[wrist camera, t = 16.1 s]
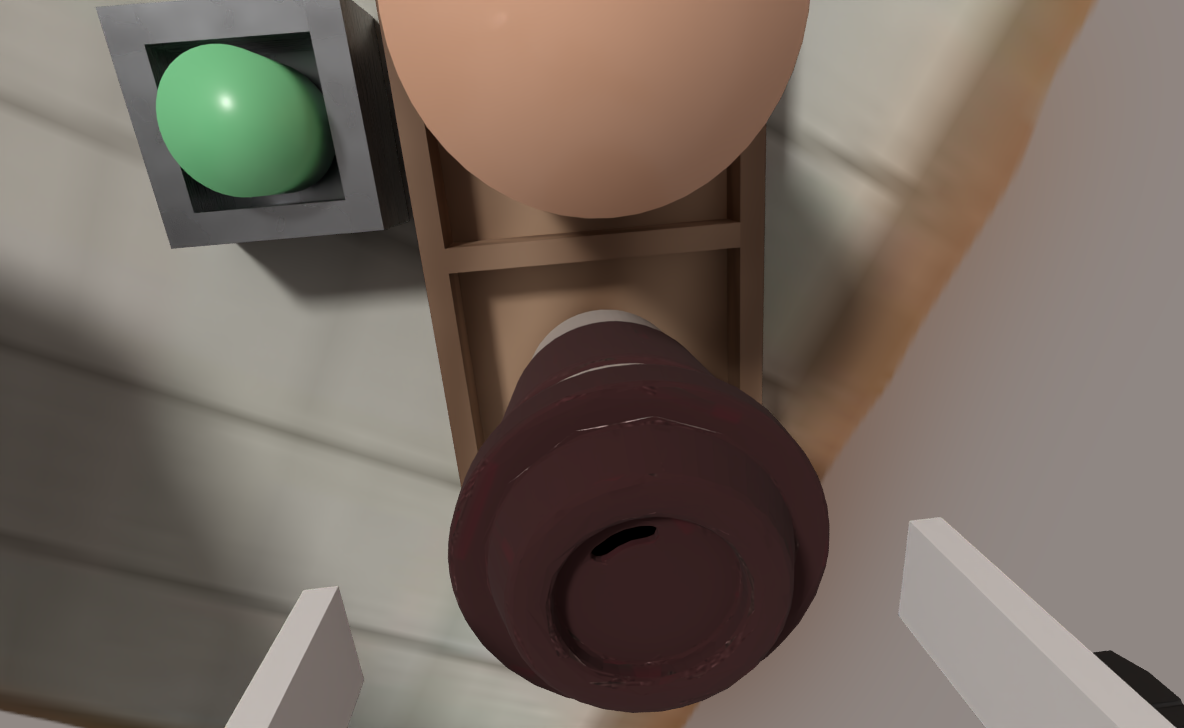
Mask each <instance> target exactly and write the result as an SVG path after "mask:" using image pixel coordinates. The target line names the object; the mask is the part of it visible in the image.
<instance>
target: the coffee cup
mask: <svg viewBox="0 0 1184 728" xmlns="http://www.w3.org/2000/svg"><path fill="white" fill-rule="evenodd" d="M828 549H829V518H828V509H827V504H826V500H825V496H824V493H823V489H822V486H821V483H820V481H819V478H818V476H817V474H816V472H815V470H814V468H813V466H812V464H811V462H810V461H809V459H808V457H807V456H806V454H805V453H804V451H803V450H802V449H801V447H800V446H799V445H798V444H797V443H796V441H795V440H794V439H793V438H792V437H791V435H790V434H789V433H788V432H787V431H786V429H785V428H784V427H783V426H782V425H781V424H780V423H779V422H778V420H777V419H776V418H775V417H774V416H773V415H772V414H771V413H770V412H769V411H768V410H767V409H766V408H765V407H764V406H762V405H761V404H760V403H759V402H757V401H756V400H755V399H754V398H752V397H751V396H749V395H748V394H746V393H745V392H743V391H742V390H740V389H739V388H737V387H735V386H733V385H731V384H729V383H726V382H724V381H722V380H720V379H718V378H716V377H714V376H713V375H712V374H711V373H710V372H709V371H708V370H707V369H706V368H705V367H704V366H703V365H702V364H701V363H700V362H699V361H698V360H697V359H696V358H695V357H694V356H693V355H692V354H691V353H690V352H689V351H688V350H687V349H686V348H685V347H684V346H682V345H681V344H680V343H679V342H677V341H676V340H675V339H673V338H672V337H670V336H668V335H666V334H665V333H663V332H662V331H661V330H660V329H659V328H657V327H656V326H655V325H654V324H652V323H651V322H649V321H647V320H646V319H644V318H642V317H640V316H637V315H635V314H632V313H628V312H625V311H619V310H594V311H589V312H585V313H582V314H578V315H576V316H574V317H571V318H569V319H567V320H566V321H564V322H562V323H561V324H559V325H558V326H557V327H555V328H554V329H553V330H552V331H551V332H550V333H549V334H548V335H547V336H546V337H545V338H544V339H543V341H542V342H541V343H540V344H539V346H538V348H537V349H536V351H535V353H534V355H533V357H532V360H531V361H530V363H529V364H528V365H527V367H526V368H525V369H524V371H523V373H522V375H521V376H520V378H519V380H518V382H517V385H516V387H515V390H514V392H513V395H512V397H511V400H510V402H509V405H508V407H507V409H506V412H505V414H504V417H503V419H502V422H501V423H500V424H499V425H498V426H497V427H496V429H495V430H494V431H493V432H492V433H491V434H490V436H489V437H488V438H487V439H486V441H485V442H484V443H483V445H482V446H481V447H480V449H479V451H478V452H477V454H476V456H475V458H474V460H473V461H472V463H471V465H470V467H469V470H468V472H467V474H466V476H465V479H464V482H463V485H462V488H461V491H460V494H459V497H458V500H457V504H456V507H455V511H454V515H453V519H452V523H451V527H450V534H449V542H448V563H449V573H450V578H451V583H452V587H453V591H454V594H455V597H456V600H457V602H458V605H459V608H460V610H461V612H462V614H463V616H464V618H465V620H466V622H467V623H468V625H469V626H470V628H471V629H472V631H473V632H474V633H475V635H476V636H477V637H478V639H479V640H480V642H481V643H482V644H483V645H484V646H485V648H486V649H487V650H488V651H490V652H491V653H492V654H493V655H494V656H495V657H496V658H497V659H498V660H499V661H500V662H501V663H503V664H504V665H505V666H506V667H507V668H508V669H510V670H512V671H513V672H515V673H516V674H518V675H520V676H521V677H523V678H524V679H526V680H528V681H529V682H531V683H532V684H534V685H536V686H539V687H541V688H544V689H546V690H549V691H551V692H554V693H556V694H559V695H562V696H564V697H567V698H572V699H575V700H577V701H579V702H582V703H585V704H589V705H592V706H595V707H598V708H602V709H607V710H615V711H623V712H631V713H638V712H659V711H666V710H671V709H676V708H681V707H684V706H687V705H690V704H693V703H696V702H699V701H703V700H705V699H707V698H709V697H711V696H713V695H715V694H717V693H719V692H721V691H723V690H725V689H728V688H729V687H730V686H732V685H733V684H734V683H736V682H737V681H738V680H739V679H741V678H742V677H743V676H744V675H746V674H747V673H748V672H750V671H751V670H752V669H753V668H755V667H756V666H757V665H758V664H759V662H760V661H762V660H763V659H765V658H766V657H767V656H768V655H769V654H770V653H772V652H773V651H774V650H775V649H776V648H777V647H778V646H779V645H780V644H781V643H782V642H783V641H784V640H785V639H786V637H787V636H788V635H789V634H790V633H791V632H792V631H793V629H794V628H795V627H796V626H797V625H798V624H799V622H800V621H801V619H802V617H803V616H804V614H805V612H806V611H807V609H808V607H809V606H810V604H811V602H812V601H813V599H814V597H815V595H816V593H817V590H818V587H819V584H820V581H821V579H822V576H823V573H824V570H825V567H826V562H827V557H828V551H829V550H828Z"/></svg>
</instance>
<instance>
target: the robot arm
mask: <svg viewBox="0 0 1184 728" xmlns="http://www.w3.org/2000/svg"><path fill="white" fill-rule="evenodd" d="M898 616H899V617H900V618H901V620H902V621H903V622H904V623H905V625H906V626H907V627H908V629H909V630H910V631H911V632H912V634H913V635H914V636H915V638H916V639H917V640H918V641H919V643H920V644H921V645H922V647H923V648H924V649H925V651H926V652H927V653H928V654H929V656H930V657H931V658H932V659H933V661H934V662H935V663H936V664H937V666H938V667H939V668H940V670H941V671H942V672H943V674H944V675H945V676H946V678H947V679H948V680H949V681H950V683H951V684H952V685H953V687H954V688H955V689H956V690H957V692H958V693H959V694H960V696H961V697H962V698H963V699H964V701H965V702H966V703H967V705H968V706H969V707H970V708H971V710H972V711H973V712H974V714H975V715H976V716H977V717H978V719H979V720H980V721H981V723H982V724H983V725H984V726H985V728H1184V705H1183V704H1182V702H1181V699H1180V698H1179V697H1178V696H1176V695H1175V694H1174V693H1173V692H1172V691H1170V690H1169V689H1168V688H1167V687H1166V686H1165V685H1163V684H1162V683H1161V682H1160V681H1159V680H1157V679H1156V678H1155V677H1154V676H1153V675H1151V674H1150V673H1149V672H1148V671H1146V670H1144V669H1142V668H1141V667H1139V666H1137V665H1135V664H1134V663H1132V662H1130V661H1128V660H1127V659H1125V658H1123V657H1121V656H1120V655H1118V654H1116V653H1114V652H1113V651H1102V652H1094V653H1092V652H1091V651H1090V650H1088V649H1087V648H1086V647H1085V646H1084V645H1083V644H1082V643H1081V642H1080V641H1079V640H1078V639H1076V638H1075V637H1074V636H1073V635H1072V634H1071V633H1070V632H1069V631H1067V630H1066V629H1065V628H1064V627H1063V626H1062V625H1061V624H1060V623H1059V622H1057V621H1056V620H1055V619H1054V618H1053V617H1052V616H1051V615H1050V614H1049V613H1047V612H1046V611H1045V610H1044V609H1043V608H1042V607H1041V606H1040V605H1039V604H1037V603H1036V602H1035V601H1034V600H1033V599H1032V598H1031V597H1030V596H1028V595H1027V594H1026V593H1025V592H1024V591H1023V590H1022V589H1020V587H1018V586H1017V585H1016V584H1015V583H1014V582H1013V581H1012V580H1010V579H1009V578H1008V577H1007V576H1006V575H1005V574H1004V573H1003V572H1002V571H1001V570H1000V569H998V568H997V567H996V566H995V565H994V564H993V563H992V562H991V561H989V560H988V559H987V558H986V557H985V556H984V555H983V554H982V553H981V552H979V551H978V550H977V549H976V548H975V547H974V546H973V545H971V544H970V543H969V542H968V541H967V540H966V539H965V538H964V537H963V536H962V535H960V534H959V533H958V532H957V531H956V530H955V529H954V528H953V527H952V526H950V525H949V524H948V523H947V522H946V521H945V520H944V519H943V518H941V517H938V518H929V519H921V520H913V521H909V528H908V536H907V544H906V554H905V562H904V570H903V578H902V587H901V596H900V604H899V612H898ZM363 682H364V677H363V674H362V670H361V666H360V663H359V659H358V656H357V652H356V648H355V645H354V641H353V637H352V634H351V630H350V627H349V623H348V619H347V616H346V612H345V609H344V605H343V601H342V598H341V594H340V590H339V587H338V586H334V587H325V588H316V589H308V590H303V592H302V593H301V595H300V597H299V599H298V600H297V602H296V604H295V606H294V607H293V609H292V611H291V613H290V614H289V616H288V618H287V620H286V621H285V623H284V625H283V626H282V628H281V630H280V632H279V633H278V635H277V637H276V639H275V640H274V642H273V644H272V646H271V647H270V649H269V651H268V653H267V654H266V656H265V658H264V660H263V661H262V663H261V665H260V667H259V668H258V670H257V672H256V673H255V675H254V677H253V679H252V680H251V682H250V684H249V686H248V687H247V689H246V691H245V693H244V694H243V696H242V698H241V700H240V701H239V703H238V705H237V707H236V708H235V710H234V712H233V714H232V715H231V717H230V719H229V720H228V722H227V724H226V726H225V727H224V728H347V727H348V724H349V721H350V718H351V716H352V713H353V710H354V707H355V704H356V702H357V699H358V696H359V693H360V690H361V688H362V685H363Z"/></svg>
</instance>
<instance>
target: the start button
mask: <svg viewBox="0 0 1184 728" xmlns="http://www.w3.org/2000/svg"><path fill="white" fill-rule="evenodd" d="M156 114H157V121H158V125H159V129H160V132H161V135H162V138H163V140H164V142H165V144H166V146H167V148H168V150H169V151H170V153H171V155H172V156H173V158H174V159H175V160H176V161H177V163H178V164H179V165H180V166H181V167H182V168H183V169H184V170H185V171H186V172H187V173H188V174H189V175H190V176H191V177H192V178H194V179H195V180H196V181H198V182H199V183H201V184H202V185H204V186H206V187H207V188H209V189H211V190H213V191H216V192H219V193H222V194H225V195H229V196H234V197H258V196H268V195H278V194H289V193H295V192H299V191H302V190H305V189H307V188H309V187H311V186H312V185H314V184H315V183H317V182H318V181H319V180H320V179H321V178H322V177H323V176H324V175H325V174H326V172H327V171H328V169H329V167H330V166H331V164H332V161H333V159H334V155H335V149H334V144H333V139H332V134H331V130H330V125H329V120H328V115H327V111H326V106H325V101H324V97H323V95H322V93H321V92H320V90H319V89H318V88H317V87H316V86H315V85H314V83H312V82H311V81H310V80H309V79H308V78H307V77H306V76H304V75H303V74H302V73H300V72H299V71H297V70H295V69H293V68H292V67H290V66H287V65H285V64H282V63H280V62H277V61H274V60H272V59H269V58H266V57H264V56H261V55H258V54H256V53H253V52H250V51H248V50H245V49H242V48H239V47H236V46H232V45H225V44H207V45H201V46H198V47H194V48H192V49H190V50H188V51H186V52H184V53H182V54H181V55H180V56H178V57H177V58H176V59H175V60H174V61H173V62H172V63H171V64H170V65H169V66H168V68H167V69H166V71H165V72H164V74H163V76H162V78H161V81H160V84H159V87H158V91H157V97H156Z"/></svg>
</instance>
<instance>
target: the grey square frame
mask: <svg viewBox="0 0 1184 728" xmlns="http://www.w3.org/2000/svg"><path fill="white" fill-rule="evenodd" d="M96 10H97V13H98V16H99V19H100V23H101V26H102V29H103V32H104V35H105V39H106V42H107V45H108V48H109V51H110V54H111V58H112V61H113V64H114V67H115V70H116V74H117V77H118V80H119V83H120V86H121V89H122V93H123V96H124V99H125V102H126V105H127V109H128V112H129V115H130V118H131V121H132V124H133V128H134V131H135V134H136V137H137V140H138V144H139V147H140V150H141V153H142V156H143V160H144V163H145V166H146V169H147V172H148V175H149V179H150V182H151V185H152V188H153V191H154V195H155V198H156V201H157V204H158V207H159V210H160V214H161V217H162V220H163V223H164V226H165V230H166V233H167V236H168V239H169V242H170V245H171V249H173V248H184V247H196V246H207V245H218V244H230V243H241V242H252V241H264V240H275V239H287V238H298V237H309V236H321V235H332V234H343V233H355V232H366V231H377V230H385V229H388V228H391V227H394V226H396V225H399V224H402V223H405V222H407V221H409V215H408V210H407V204H406V199H405V193H404V187H403V182H402V176H401V171H400V165H399V160H398V154H397V148H396V143H395V137H394V132H393V126H392V120H391V115H390V109H389V104H388V98H387V93H386V87H385V81H384V76H383V70H382V65H381V59H380V53H379V48H378V42H377V37H376V31H375V26H374V20H373V17H372V16H371V15H370V14H368V13H367V12H366V11H365V10H363V9H362V8H361V7H360V6H358V5H357V4H356V3H355V2H353V1H352V0H179V1H166V2H153V3H141V4H128V5H115V6H102V7H96ZM207 44H225V45H232V46H236V47H239V48H242V49H245V50H248V51H250V52H253V53H256V54H258V55H261V56H264V57H266V58H269V59H272V60H274V61H277V62H280V63H282V64H285V65H287V66H290V67H292V68H293V69H295V70H297V71H299V72H300V73H302V74H303V75H304V76H306V77H307V78H308V79H309V80H310V81H311V82H312V83H314V85H315V86H316V87H317V88H318V89H319V90H320V92H321V93H322V95H323V97H324V101H325V106H326V111H327V115H328V120H329V125H330V130H331V134H332V139H333V144H334V149H335V155H334V159H333V161H332V164H331V166H330V167H329V169H328V171H327V172H326V174H325V175H324V176H323V177H322V178H321V179H320V180H319V181H318V182H317V183H315V184H314V185H312V186H311V187H309V188H307V189H305V190H302V191H299V192H295V193H289V194H278V195H268V196H258V197H234V196H229V195H225V194H222V193H219V192H216V191H213V190H211V189H209V188H207V187H206V186H204V185H202V184H201V183H199V182H198V181H196V180H195V179H194V178H192V177H191V176H190V175H189V174H188V173H187V172H186V171H185V170H184V169H183V168H182V167H181V166H180V165H179V164H178V163H177V161H176V160H175V159H174V158H173V156H172V155H171V153H170V151H169V150H168V148H167V146H166V144H165V142H164V140H163V138H162V135H161V132H160V129H159V125H158V121H157V114H156V97H157V91H158V87H159V84H160V81H161V78H162V76H163V74H164V72H165V71H166V69H167V68H168V66H169V65H170V64H171V63H172V62H173V61H174V60H175V59H176V58H177V57H178V56H180V55H181V54H182V53H184V52H186V51H188V50H190V49H192V48H194V47H198V46H201V45H207Z"/></svg>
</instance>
